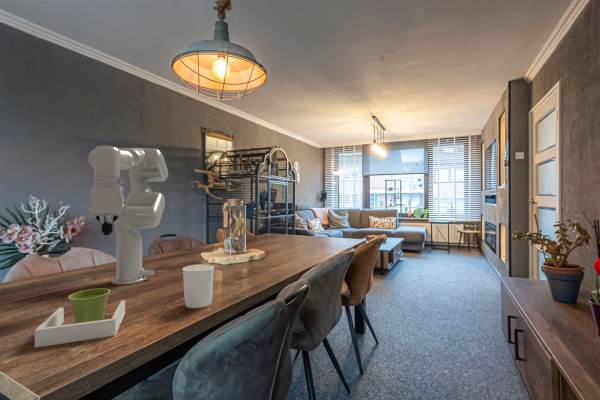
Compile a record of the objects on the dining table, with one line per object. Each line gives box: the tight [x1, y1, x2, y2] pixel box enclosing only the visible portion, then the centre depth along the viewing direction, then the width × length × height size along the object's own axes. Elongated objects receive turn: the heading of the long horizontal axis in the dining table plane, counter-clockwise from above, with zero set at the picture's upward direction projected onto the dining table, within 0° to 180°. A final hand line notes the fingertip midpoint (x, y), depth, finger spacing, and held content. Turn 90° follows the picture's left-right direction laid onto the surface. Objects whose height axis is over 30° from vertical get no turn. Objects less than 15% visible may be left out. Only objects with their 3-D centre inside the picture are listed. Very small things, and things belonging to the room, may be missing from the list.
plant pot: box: [67, 288, 111, 324], centre depth 81 cm, size 9×9×9 cm
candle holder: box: [182, 263, 215, 309], centre depth 97 cm, size 10×10×12 cm
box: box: [34, 299, 126, 348], centre depth 78 cm, size 16×16×4 cm
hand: (107, 234), depth 103 cm, fingers closed
